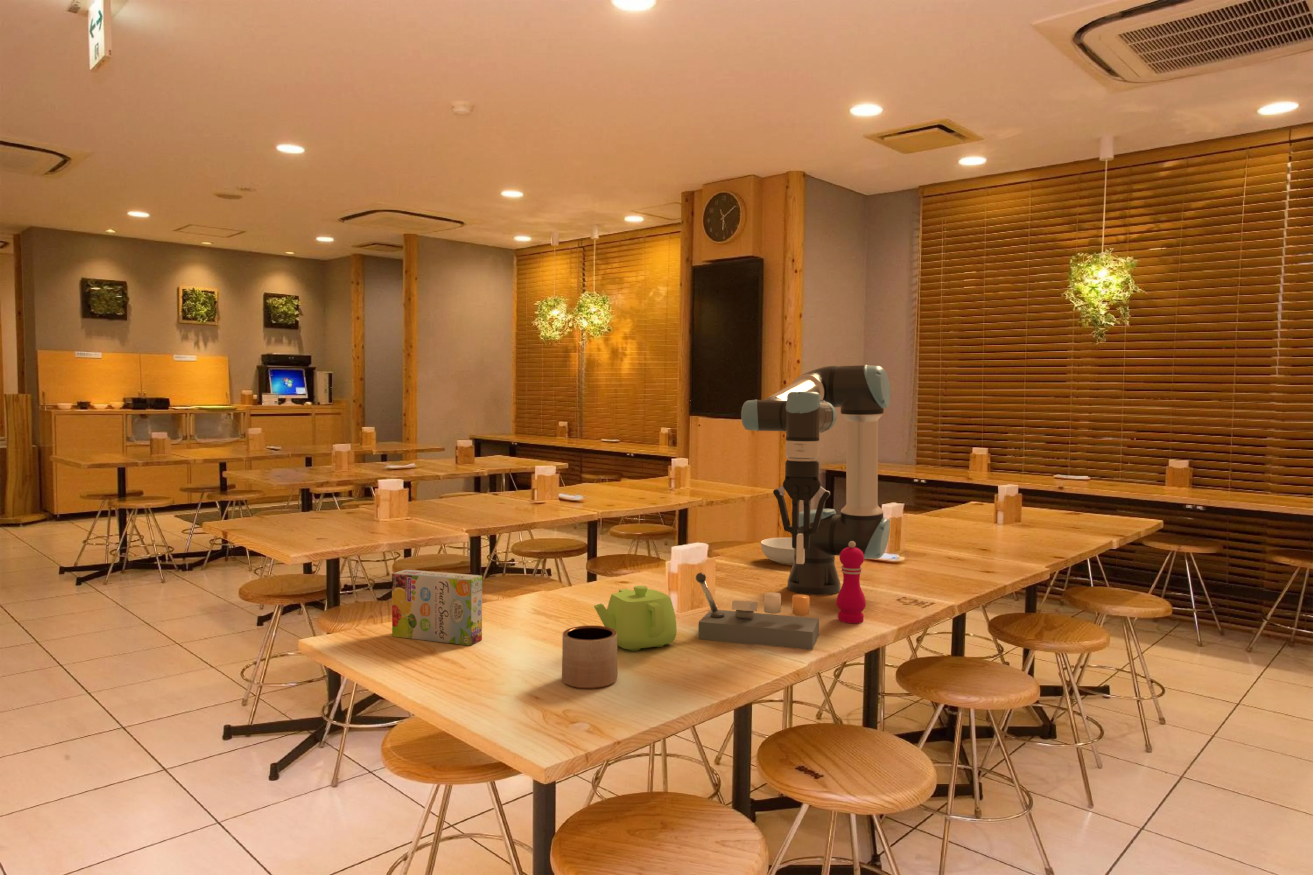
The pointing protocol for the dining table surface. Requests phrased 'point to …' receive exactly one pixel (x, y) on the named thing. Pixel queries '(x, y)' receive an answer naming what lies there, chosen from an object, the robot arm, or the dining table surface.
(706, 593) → the lever
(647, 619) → the teapot
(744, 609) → the rocker
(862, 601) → the pepper mill
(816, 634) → the console
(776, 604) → the button cream
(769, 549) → the serving bowl
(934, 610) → the dining table surface
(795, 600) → the button orange
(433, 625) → the snack box
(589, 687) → the planter
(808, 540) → the robot arm
